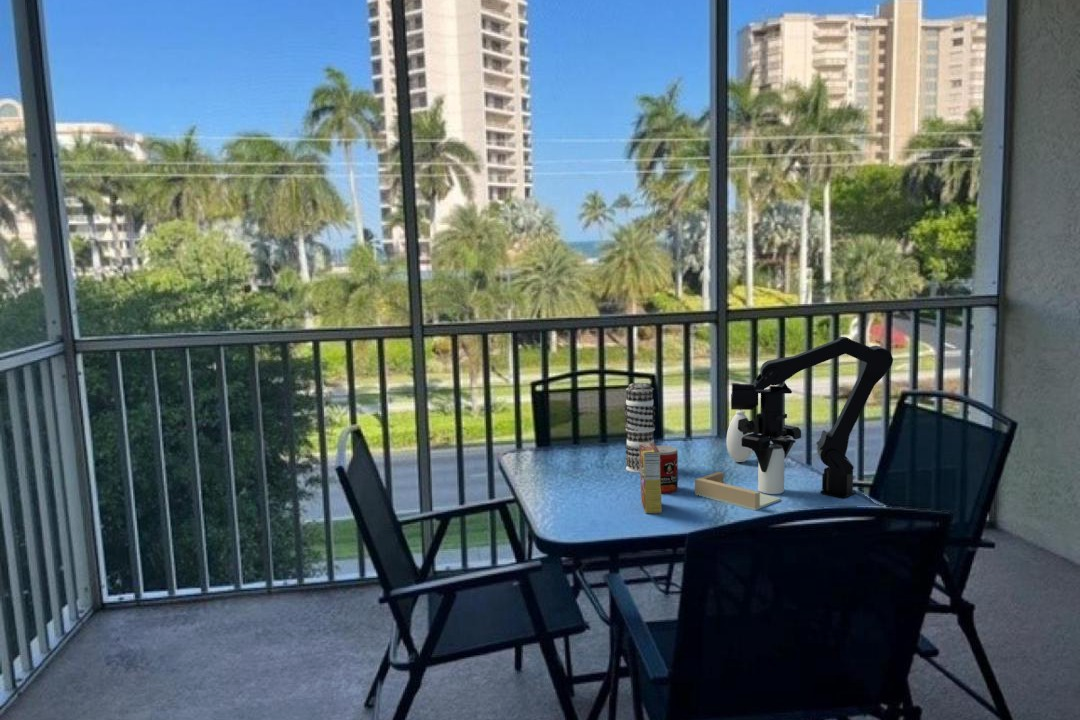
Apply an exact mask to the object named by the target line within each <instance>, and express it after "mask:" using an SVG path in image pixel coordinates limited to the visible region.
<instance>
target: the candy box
mask: <svg viewBox="0 0 1080 720" xmlns="http://www.w3.org/2000/svg"><path fill="white" fill-rule="evenodd" d="M656 446H657V445H656V443H655V442H654V443H646V444H639V450H640V473H639V474H640V476H639V477H640V500H641V504H642V506H643V509H644V513H645V514H646V513H649V514H661V513H662V493H661V466H660V451H659V450H658V448H657V447H656Z"/></svg>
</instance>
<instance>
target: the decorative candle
mask: <svg viewBox="0 0 1080 720" xmlns="http://www.w3.org/2000/svg"><path fill="white" fill-rule="evenodd" d="M654 390H655V388H653V387H652V386H651V385H650V384H649V383H647V382H633V383H630V384H629V385H628V386H627V388H625V391H626V400H625V403H624V406H623V410H625V412H624V414H623V415H624V422H625V423H626V424H625V425H624V427H625V431H626V437H627V438H626V445H625V449H626V450H625V454H626V456H625V460H626V461H625V465H626V467H625V470H626V471H627V472H631V473H638V474H640V450H639V444H646V443H655V440H654V439H655V438H654V431H655V430H656V429H655V428H656V424H654V423H655V422H656V419H655V418H654V416H655V415H656V412H655V410H656V409H657V408H656V406H654V397H653V396H654Z"/></svg>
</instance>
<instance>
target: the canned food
mask: <svg viewBox="0 0 1080 720" xmlns="http://www.w3.org/2000/svg"><path fill="white" fill-rule="evenodd" d="M656 447H657V448H658V450H659V451H660V466H661V494H673V493H674V492H676V491H677V490H678V487H679V486H678V483H679V482H678V479H679V477H678V476H679V474H678V471H679V468H678V467H679V466H678V464H679V463H678V460H679V458H678V454H679V453H678V448H677V447H675V446H672V445H661V444H660V445H656ZM672 492H673V493H672Z"/></svg>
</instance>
